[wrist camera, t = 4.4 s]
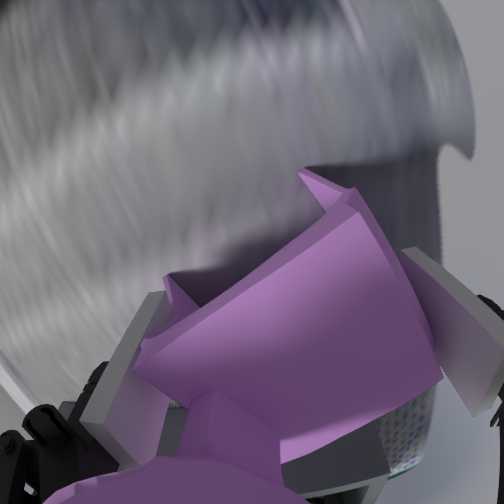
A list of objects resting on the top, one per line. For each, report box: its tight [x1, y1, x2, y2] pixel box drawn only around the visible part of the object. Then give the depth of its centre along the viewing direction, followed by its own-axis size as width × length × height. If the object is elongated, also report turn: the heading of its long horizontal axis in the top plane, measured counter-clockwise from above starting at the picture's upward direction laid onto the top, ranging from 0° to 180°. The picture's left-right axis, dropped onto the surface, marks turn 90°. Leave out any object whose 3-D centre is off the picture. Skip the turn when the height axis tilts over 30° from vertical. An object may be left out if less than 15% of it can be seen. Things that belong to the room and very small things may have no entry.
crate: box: [58, 402, 391, 504], centre depth 17 cm, size 18×23×7 cm
